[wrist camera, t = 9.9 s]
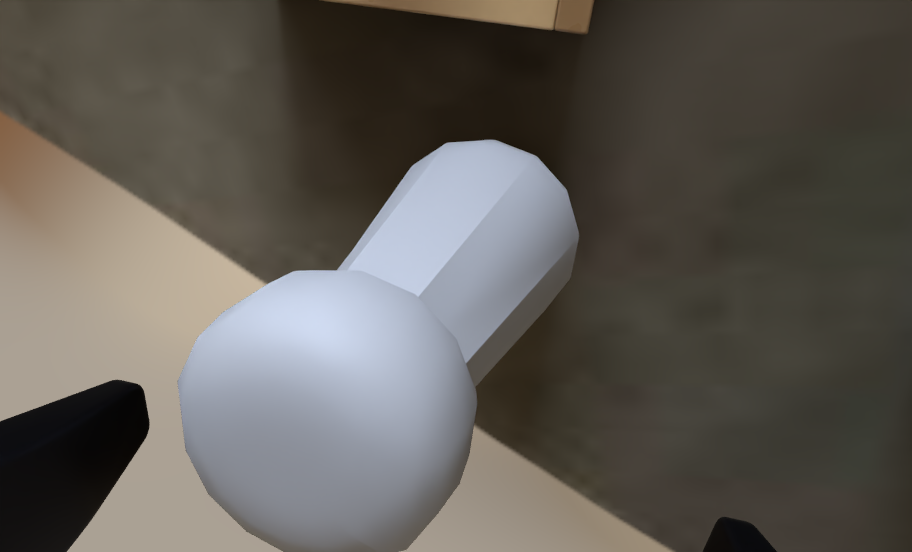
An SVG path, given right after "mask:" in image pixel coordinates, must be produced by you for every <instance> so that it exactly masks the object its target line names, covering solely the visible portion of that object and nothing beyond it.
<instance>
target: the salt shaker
mask: <svg viewBox="0 0 912 552" xmlns="http://www.w3.org/2000/svg"><path fill="white" fill-rule="evenodd" d="M578 240H579V232H578V228H577V224H576V221H575V217H574V214H573V210H572V207H571V203H570V200H569V196H568V193H567V189H566V188H565V187H564V186H563V185H562V184H561V183H560V182H559V180H558V179H557V178H556V177H555V176H554V175H553V174H552V173H551V172H550V170H549V169H548V168H547V167H546V166H545V165H544V164H543V163H542V161H541V160H540V159H539V158H538V157H537V156H535V155H533V154H530V153H528V152H525V151H523V150H520V149H518V148H515V147H512V146H510V145H507V144H505V143H502V142H500V141H497V140H479V141H464V142H450V143H446V144H444V145H443V146H441V147H440V148H438V149H437V150H435V151H433V152H432V153H430V154H429V155H427V156H426V157H424V158H423V159H421V160H420V161H418V162H417V163H415V164H414V165H412V166H411V168H410V169H409V171H408V172H407V173H406V175H405V176H404V178H403V179H402V181H401V182H400V183H399V185H398V186H397V188H396V189H395V191H394V192H393V193H392V195H391V196H390V198H389V199H388V200H387V202H386V203H385V205H384V206H383V208H382V209H381V210H380V212H379V213H378V215H377V216H376V217H375V219H374V220H373V222H372V223H371V225H370V226H369V227H368V229H367V230H366V232H365V233H364V235H363V236H362V237H361V239H360V240H359V242H358V243H357V244H356V246H355V247H354V249H353V250H352V251H351V253H350V254H349V255H348V257H347V258H346V259H345V260H344V262H343V263H342V264H341V266H340V267H339V268H338V269H337V271H322V270H308V271H293V272H291V273H289V274H287V275H285V276H283V277H281V278H279V279H277V280H275V281H273V282H271V283H269V284H267V285H265V286H264V287H262V288H261V289H259V290H257V291H256V292H254V293H253V294H251V295H250V296H248V297H247V298H245V299H243V300H242V301H240V302H238V303H237V304H235V305H234V306H232V307H230V308H229V309H227V310H226V311H224V312H223V313H222V314H221V315H220V316H219V317H218V318H217V319H216V320H215V321H214V322H213V323H212V324H211V325H210V326H209V327H208V328H207V329H206V330H205V331H204V332H203V333H202V334H201V335H200V336H198V338H197V340H196V342H195V344H194V346H193V349H192V351H191V353H190V355H189V358H188V360H187V362H186V364H185V366H184V368H183V370H182V373H181V375H180V377H179V380H178V389H179V397H180V406H181V413H182V423H183V431H184V440H185V448H186V452H187V453H188V455H189V457H190V459H191V461H192V463H193V465H194V467H195V469H196V471H197V473H198V475H199V477H200V479H201V481H202V483H203V485H204V486H205V488H206V490H207V492H208V494H209V495H210V496H211V497H212V498H213V499H214V500H215V501H216V502H217V503H218V504H219V505H220V506H221V507H222V508H223V509H224V510H225V511H226V512H227V513H228V514H229V515H230V516H231V517H232V518H233V519H234V520H235V521H237V523H238V524H239V525H241V526H242V527H243V529H245V530H246V531H247V532H249V533H251V534H252V535H254V536H256V537H258V538H260V539H261V540H263V541H265V542H267V543H269V544H270V545H272V546H274V547H276V548H278V549H280V550H282V551H283V552H399V551H403V550H406V549H407V548H408V547H409V546H410V545H411V544H412V543H413V541H414V540H415V539H416V538H417V537H418V535H419V534H420V533H421V532H422V531H423V530H424V529H425V527H426V526H427V525H428V524H429V523H430V522H431V521H432V519H433V518H434V517H435V516H436V515H437V514H438V513H439V511H440V510H441V508H442V507H443V506H444V504H445V503H446V501H447V500H448V499H449V497H450V496H451V495H452V493H453V492H454V490H455V489H456V488H457V486H458V485H459V483H460V480H461V477H462V474H463V471H464V468H465V465H466V462H467V459H468V456H469V453H470V446H471V439H472V434H473V427H474V421H475V415H476V408H477V395H476V389H475V387H476V386H477V385H478V384H479V382H480V381H481V380H482V379H483V378H484V377H485V376H486V375H487V374H488V373H489V371H490V370H491V369H492V368H493V367H494V366H495V365H496V364H497V363H498V361H499V360H500V359H501V358H502V357H503V356H504V355H505V354H506V353H507V352H508V350H509V349H510V348H511V347H512V346H513V345H514V344H515V343H516V342H517V340H518V339H519V338H520V337H521V336H522V335H523V334H524V333H525V332H526V331H527V329H528V328H529V327H530V326H531V325H532V324H533V323H534V322H535V321H536V320H537V318H538V317H539V316H540V315H541V314H542V313H543V312H544V311H545V309H546V308H547V307H548V306H549V305H550V303H551V302H552V301H553V300H554V298H555V297H556V296H557V295H558V293H559V292H560V291H561V290H562V288H563V287H564V286H565V285H566V283H567V282H568V281H569V280H570V278H571V274H572V269H573V264H574V259H575V254H576V250H577V245H578Z"/></svg>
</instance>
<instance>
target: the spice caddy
mask: <svg viewBox="0 0 912 552" xmlns="http://www.w3.org/2000/svg"><path fill="white" fill-rule="evenodd" d="M321 1H329V2H337V3H344V4H352V5H360V6H368V7H375V8H383V9H391V10H398V11H406V12H414V13H421V14H429V15H437V16H445V17H452V18H460V19H468V20H475V21H483V22H491V23H498V24H506V25H514V26H522V27H529V28H537V29H545V30H553V29H555V30H556V31H560V32H568V33H576V34H583V35H585V34H587V33H588V30H589V25H590V20H591V15H592V10H593V5H594V0H321Z"/></svg>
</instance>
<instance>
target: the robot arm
mask: <svg viewBox="0 0 912 552" xmlns="http://www.w3.org/2000/svg"><path fill="white" fill-rule="evenodd" d="M148 430H149V417H148V411H147V405H146V400H145V394H144V390H143V389H142V387H141V386H140V385H138V384H135V383H131V382H126V381H122V380H112V381H109V382H107V383H104V384H101V385H99V386H96V387H93V388H90V389H87V390H85V391H82V392H79V393H76V394H74V395H71V396H68V397H66V398H63V399H60V400H57V401H55V402H52V403H49V404H46V405H44V406H41V407H39V408H36V409H33V410H30V411H27V412H25V413H22V414H19V415H16V416H14V417H11V418H8V419H6V420H3V421H1V422H0V552H67V551H68V549H69V548H70V547H71V546H72V544H73V543H74V542H75V541H76V539H77V538H78V537H79V535H80V534H81V533H82V532H83V530H84V529H85V528H86V526H87V525H88V524H89V522H90V521H91V519H92V518H93V516H94V515H95V514H96V512H97V511H98V509H99V508H100V506H101V505H102V503H103V502H104V500H105V499H106V497H107V496H108V494H109V493H110V491H111V490H112V488H113V487H114V485H115V484H116V482H117V481H118V479H119V478H120V476H121V475H122V473H123V472H124V470H125V469H126V467H127V466H128V464H129V462H130V461H131V460H132V458H133V457H134V455H135V454H136V452H137V450H138V449H139V447H140V446H141V444H142V443H143V441H144V440H145V438H146V436H147V434H148ZM703 552H777V551H776V550H775V549H774V548H773V547H772V546H771V544H770V543H769V542H768V541H767V540H766V539H765V538H764V536H763V535H762V534H761V533H760V532H759V531H758V529H757V528H756V527H755V526H754V525H752V524H751V523H749V522H746V521H741V520H737V519H732V518H728V517H721V518H720V519H718V520H717V522H716V524H715V526H714V528H713V530H712V532H711V535H710V537H709V539H708V541H707V543H706V545H705V548H704V550H703Z"/></svg>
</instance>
